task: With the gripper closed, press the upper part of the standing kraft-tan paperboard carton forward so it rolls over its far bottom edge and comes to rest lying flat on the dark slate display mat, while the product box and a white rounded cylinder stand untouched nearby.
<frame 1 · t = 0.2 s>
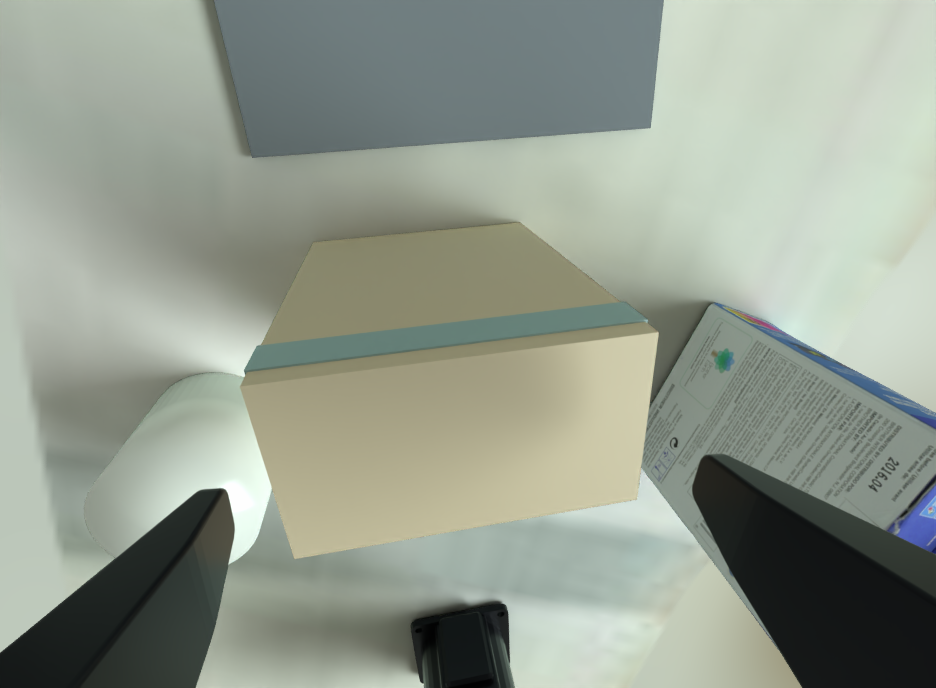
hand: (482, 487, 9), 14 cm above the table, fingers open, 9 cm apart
white rounded cylinder: (222, 426, 23), on the table
product box: (698, 388, 27), on the table
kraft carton: (424, 286, 22), on the table
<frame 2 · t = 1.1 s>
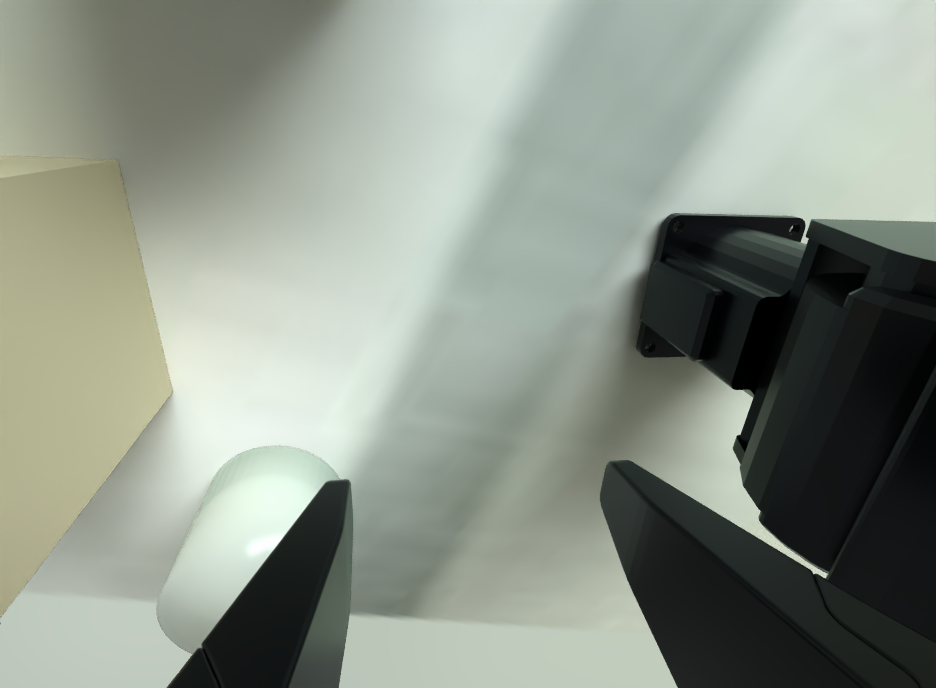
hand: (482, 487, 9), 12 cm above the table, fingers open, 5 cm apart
white rounded cylinder: (278, 496, 23), on the table
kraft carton: (73, 288, 18), on the table
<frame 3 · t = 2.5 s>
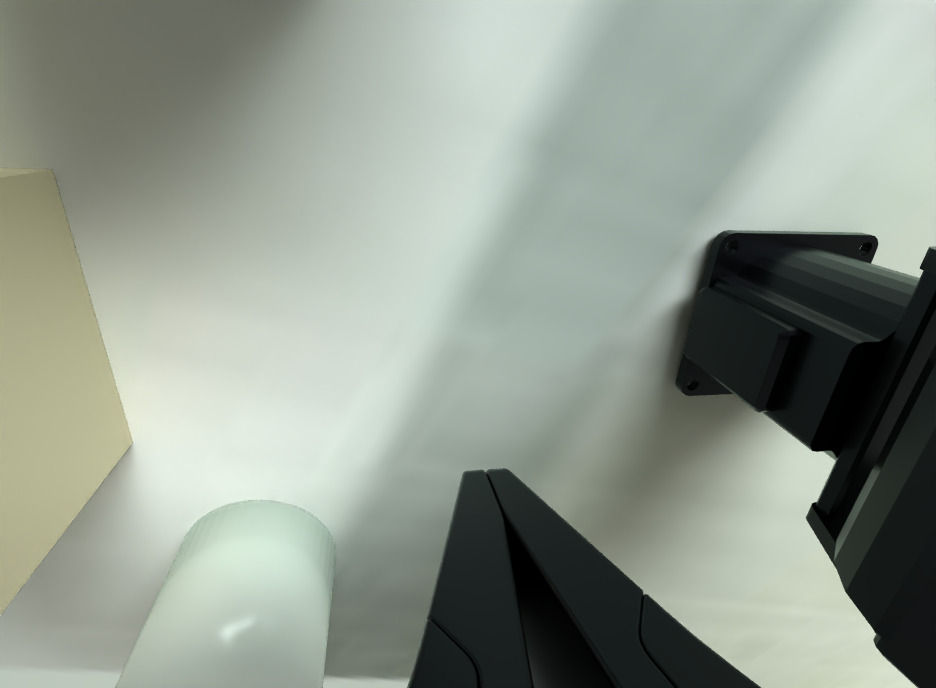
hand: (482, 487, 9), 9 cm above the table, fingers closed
white rounded cylinder: (261, 555, 20), on the table
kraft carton: (5, 324, 14), on the table
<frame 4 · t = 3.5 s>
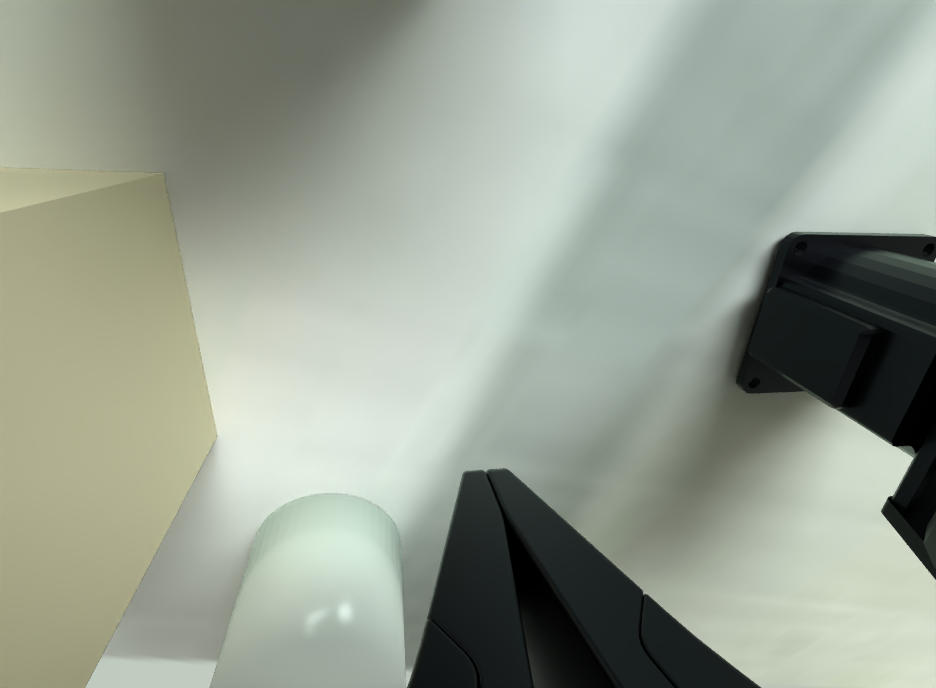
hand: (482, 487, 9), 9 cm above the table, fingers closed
white rounded cylinder: (329, 547, 20), on the table
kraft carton: (107, 321, 15), on the table
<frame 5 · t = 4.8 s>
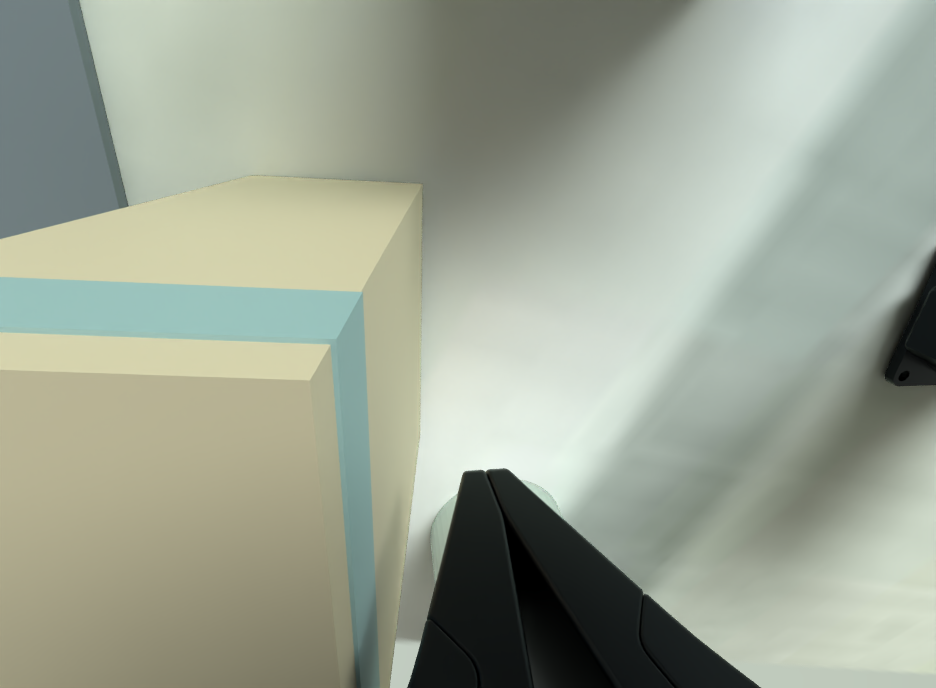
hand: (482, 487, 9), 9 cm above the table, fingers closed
white rounded cylinder: (496, 530, 22), on the table
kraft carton: (346, 320, 16), on the table, tilted 8°, touching gripper
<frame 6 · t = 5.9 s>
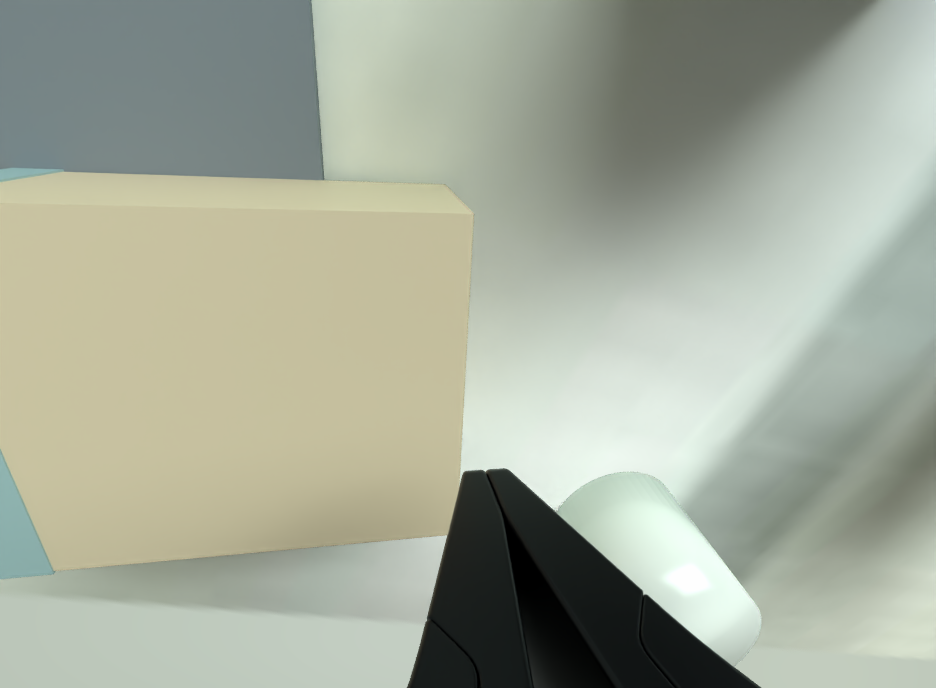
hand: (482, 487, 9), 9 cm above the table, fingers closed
white rounded cylinder: (612, 522, 23), on the table
display mat: (104, 258, 14), on the table
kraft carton: (450, 354, 14), point 3 cm above the table, tilted 90°, touching display mat
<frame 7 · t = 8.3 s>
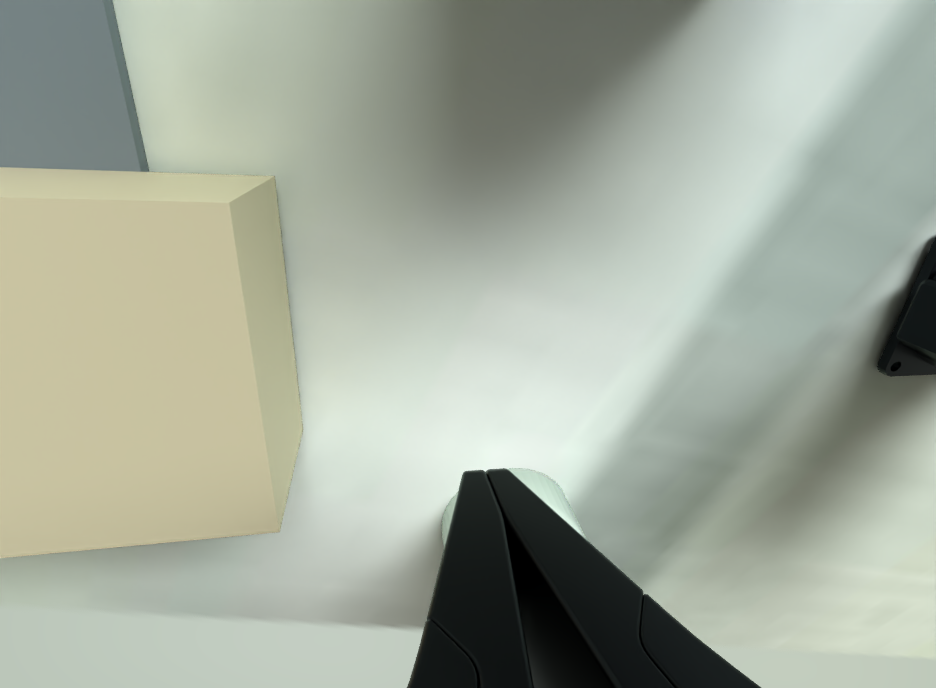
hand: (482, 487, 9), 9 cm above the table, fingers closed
white rounded cylinder: (505, 519, 22), on the table
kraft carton: (277, 349, 14), point 3 cm above the table, tilted 90°, touching display mat
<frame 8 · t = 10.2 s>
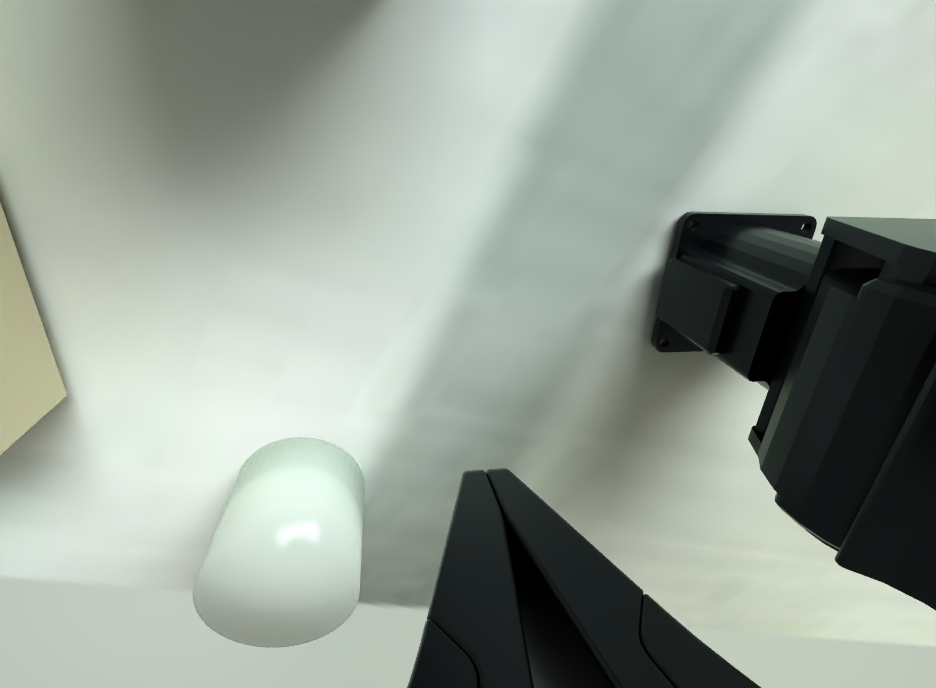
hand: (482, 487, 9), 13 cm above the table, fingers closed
white rounded cylinder: (302, 487, 24), on the table
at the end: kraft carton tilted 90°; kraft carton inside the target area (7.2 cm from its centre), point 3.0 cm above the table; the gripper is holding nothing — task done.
